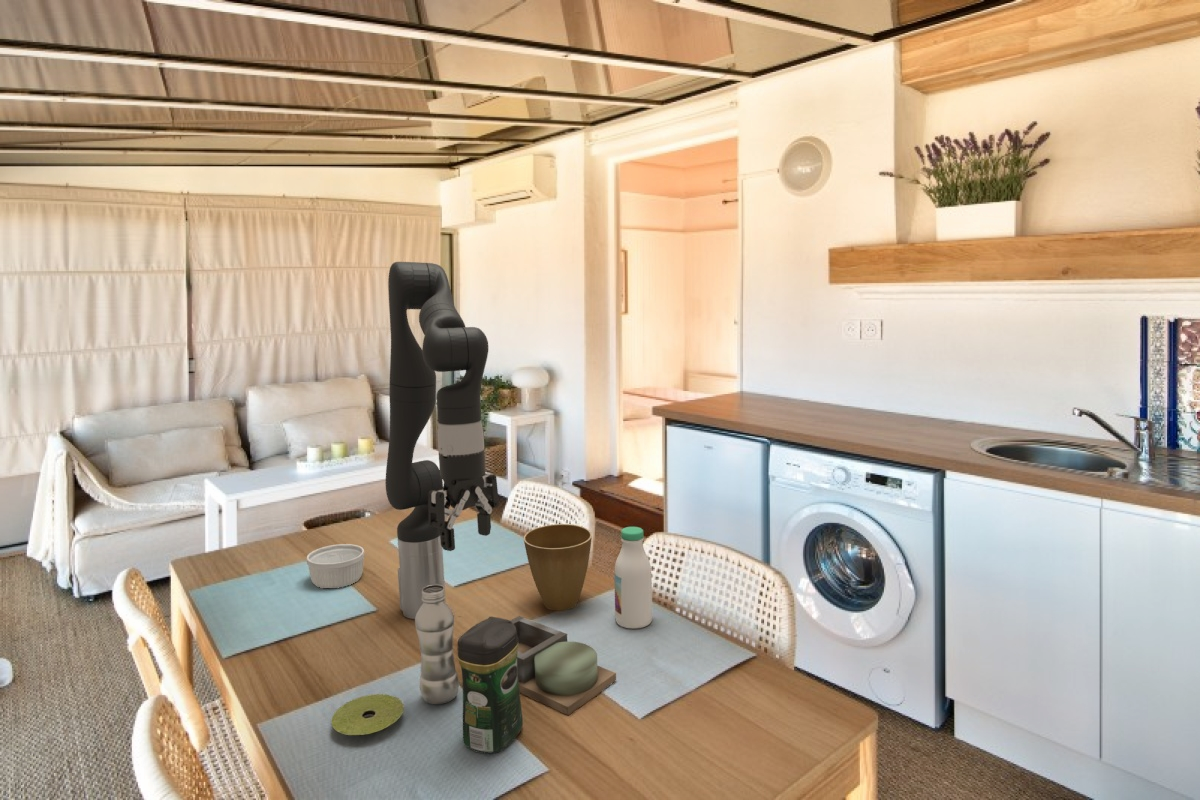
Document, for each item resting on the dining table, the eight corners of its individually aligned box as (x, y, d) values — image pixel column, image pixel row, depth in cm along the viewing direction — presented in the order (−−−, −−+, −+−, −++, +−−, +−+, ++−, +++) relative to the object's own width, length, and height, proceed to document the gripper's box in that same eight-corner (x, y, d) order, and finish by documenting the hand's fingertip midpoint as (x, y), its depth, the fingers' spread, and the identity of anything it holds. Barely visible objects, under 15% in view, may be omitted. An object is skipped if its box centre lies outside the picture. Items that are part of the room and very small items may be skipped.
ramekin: (377, 576, 177) (375, 549, 176) (332, 596, 166) (330, 567, 165) (342, 566, 184) (340, 540, 183) (297, 584, 173) (294, 557, 172)
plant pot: (530, 590, 167) (528, 524, 165) (594, 589, 167) (593, 523, 164) (522, 619, 152) (519, 547, 150) (592, 619, 152) (590, 547, 149)
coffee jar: (488, 714, 119) (483, 608, 116) (530, 725, 116) (525, 617, 113) (453, 748, 110) (446, 635, 107) (497, 761, 107) (491, 645, 104)
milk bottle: (657, 616, 153) (656, 526, 149) (644, 632, 146) (642, 538, 142) (623, 610, 156) (622, 521, 153) (609, 625, 149) (607, 533, 146)
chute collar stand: (470, 669, 133) (468, 639, 132) (520, 641, 143) (519, 613, 142) (568, 715, 118) (567, 681, 117) (616, 680, 128) (615, 649, 127)
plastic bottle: (451, 711, 120) (444, 598, 117) (413, 707, 121) (405, 595, 118) (465, 690, 126) (459, 582, 123) (429, 686, 128) (422, 579, 124)
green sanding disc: (355, 755, 109) (354, 743, 109) (319, 726, 117) (318, 715, 116) (418, 721, 117) (417, 710, 117) (380, 696, 125) (379, 686, 125)
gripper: (474, 438, 127) (479, 527, 130) (413, 454, 116) (419, 551, 118) (506, 442, 123) (511, 533, 125) (446, 459, 111) (452, 559, 114)
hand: (467, 542), depth 122 cm, fingers open, 8 cm apart
